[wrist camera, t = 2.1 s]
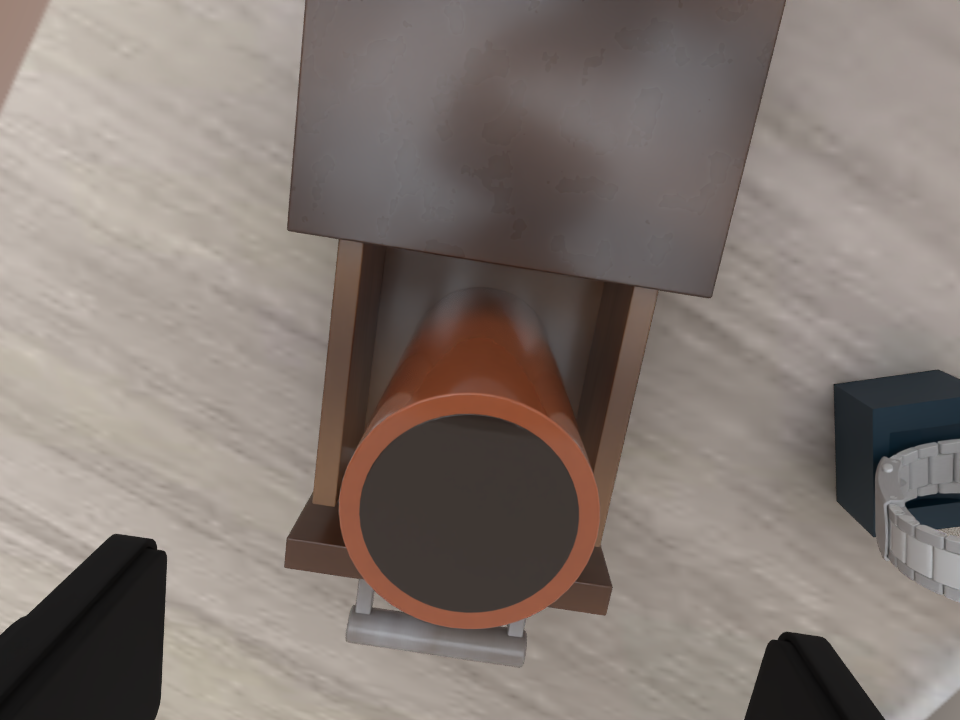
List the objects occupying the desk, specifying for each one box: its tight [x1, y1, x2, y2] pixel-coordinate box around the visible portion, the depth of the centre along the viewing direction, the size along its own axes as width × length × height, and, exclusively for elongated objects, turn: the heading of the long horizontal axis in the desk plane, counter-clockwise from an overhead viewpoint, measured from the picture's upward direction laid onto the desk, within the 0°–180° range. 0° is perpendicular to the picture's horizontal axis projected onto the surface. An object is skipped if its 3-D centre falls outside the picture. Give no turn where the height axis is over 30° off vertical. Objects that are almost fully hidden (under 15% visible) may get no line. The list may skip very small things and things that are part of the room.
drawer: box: [284, 239, 659, 668], centre depth 26 cm, size 18×11×6 cm, turn 171°
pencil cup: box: [339, 287, 600, 629], centre depth 21 cm, size 6×6×13 cm
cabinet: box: [287, 0, 786, 298], centre depth 22 cm, size 15×13×8 cm
